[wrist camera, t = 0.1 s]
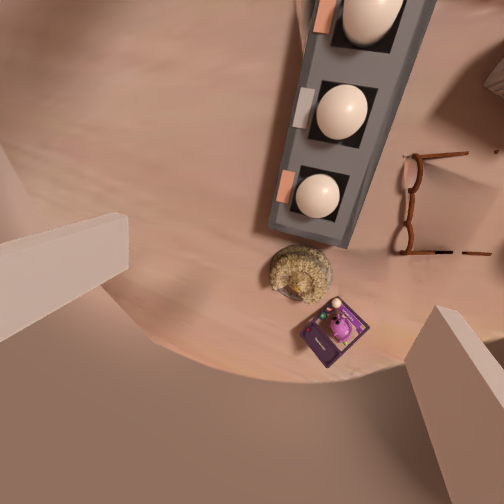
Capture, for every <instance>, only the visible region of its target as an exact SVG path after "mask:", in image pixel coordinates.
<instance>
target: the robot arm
mask: <svg viewBox="0 0 504 504" xmlns="http://www.w3.org/2000/svg"><path fill="white" fill-rule="evenodd" d="M127 269H129V227H128V216H127V215H123V214H120V213H116V212H112V213H109V214H105V215H101V216H98V217H94V218H91V219H87V220H84V221H80V222H76V223H73V224H69V225H66V226H62V227H59V228H55V229H51V230H48V231H45V232H41V233H38V234H33V235H30V236H26V237H23V238H20V239H16V240H12V241H8V242H5V243H2V244H0V342H1V341H3V340H5V339H7V338H8V337H10V336H12V335H13V334H15V333H17V332H19V331H21V330H22V329H24V328H26V327H28V326H29V325H31V324H33V323H34V322H36V321H38V320H40V319H41V318H43V317H45V316H47V315H48V314H50V313H52V312H54V311H55V310H57V309H59V308H61V307H62V306H64V305H66V304H67V303H69V302H71V301H73V300H74V299H76V298H78V297H80V296H81V295H83V294H85V293H87V292H88V291H90V290H92V289H94V288H95V287H97V286H99V285H101V284H102V283H104V282H106V281H108V280H109V279H111V278H113V277H115V276H116V275H118V274H120V273H122V272H123V271H125V270H127ZM404 361H405V364H406V367H407V370H408V373H409V376H410V379H411V382H412V385H413V388H414V391H415V394H416V397H417V400H418V403H419V406H420V409H421V412H422V415H423V418H424V421H425V424H426V427H427V430H428V433H429V435H430V439H431V442H432V445H433V448H434V451H435V454H436V457H437V460H438V463H439V466H440V469H441V472H442V475H443V478H444V481H445V484H446V487H447V490H448V493H449V496H450V499H451V502H452V504H504V370H503V368H502V367H501V366H500V365H499V363H498V362H497V361H496V359H495V358H494V357H493V356H492V354H491V353H490V352H489V350H488V349H487V348H486V347H485V345H484V344H483V343H482V341H481V340H480V339H479V337H478V336H477V335H476V334H475V332H474V331H473V330H472V328H471V327H470V326H469V325H468V323H467V322H466V321H465V319H464V318H463V317H462V315H461V314H460V313H459V312H458V311H455V310H451V309H448V308H445V307H441V306H438V305H435V306H434V308H433V310H432V312H431V314H430V315H429V317H428V319H427V321H426V322H425V324H424V326H423V328H422V329H421V331H420V333H419V335H418V336H417V338H416V340H415V342H414V343H413V345H412V347H411V349H410V350H409V352H408V354H407V356H406V357H405V359H404Z"/></svg>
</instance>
